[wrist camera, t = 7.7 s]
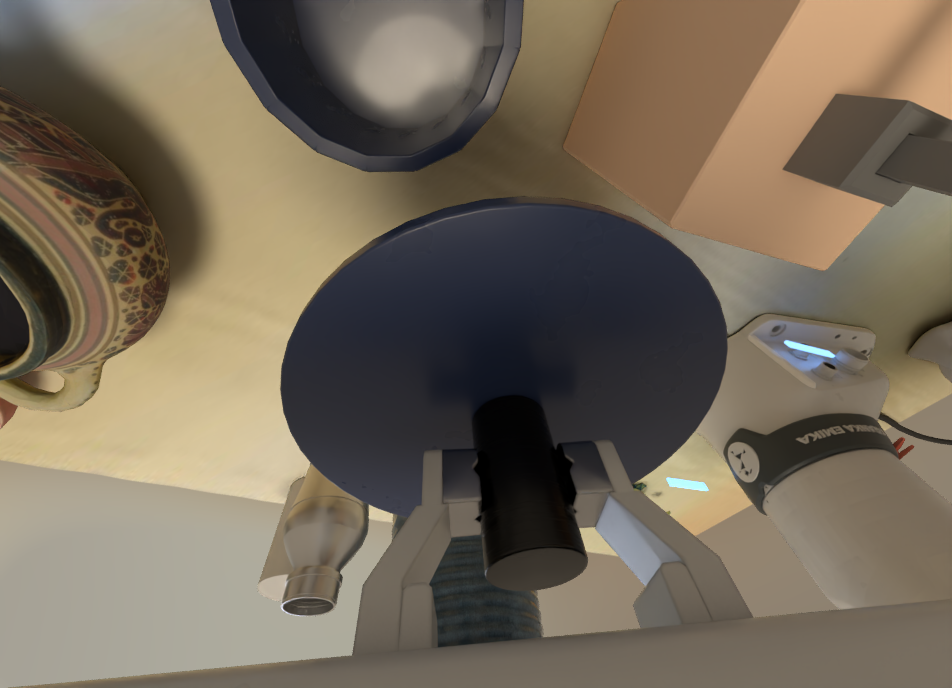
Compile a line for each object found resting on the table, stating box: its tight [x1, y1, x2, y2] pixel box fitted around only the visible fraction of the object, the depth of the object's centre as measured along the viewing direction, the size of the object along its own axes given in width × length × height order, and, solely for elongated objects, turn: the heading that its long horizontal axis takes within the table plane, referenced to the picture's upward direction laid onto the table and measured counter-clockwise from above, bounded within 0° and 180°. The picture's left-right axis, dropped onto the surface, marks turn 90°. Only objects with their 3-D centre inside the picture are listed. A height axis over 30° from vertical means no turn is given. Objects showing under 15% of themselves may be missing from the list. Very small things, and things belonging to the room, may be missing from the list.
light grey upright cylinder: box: [257, 477, 305, 601], centre depth 47 cm, size 8×8×12 cm
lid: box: [280, 196, 728, 591], centre depth 11 cm, size 14×14×6 cm
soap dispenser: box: [563, 0, 952, 271], centre depth 17 cm, size 13×9×22 cm
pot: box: [210, 0, 524, 172], centre depth 19 cm, size 13×13×10 cm
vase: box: [392, 514, 543, 647], centre depth 39 cm, size 16×16×32 cm
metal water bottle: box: [281, 463, 369, 616], centre depth 34 cm, size 6×7×20 cm
